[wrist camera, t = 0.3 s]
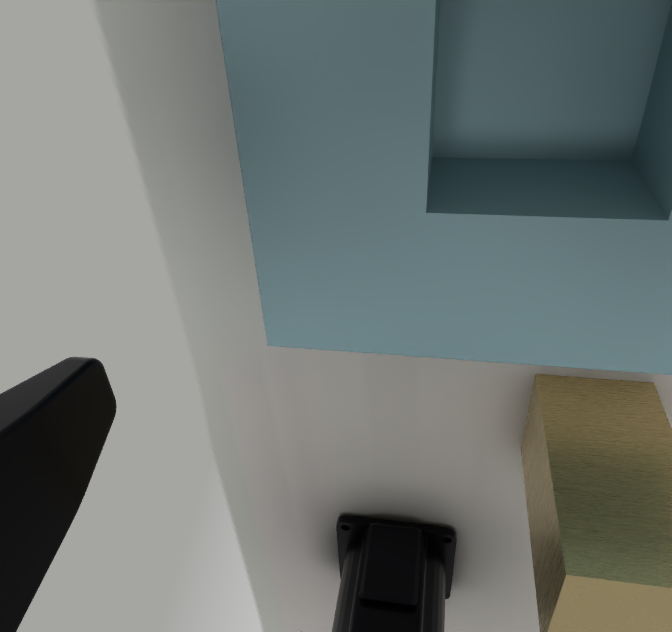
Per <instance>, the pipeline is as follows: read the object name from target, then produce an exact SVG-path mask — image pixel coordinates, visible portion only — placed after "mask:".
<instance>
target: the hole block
mask: <svg viewBox="0 0 672 632" xmlns="http://www.w3.org/2000/svg"><path fill="white" fill-rule="evenodd" d="M216 6H217V12H218V19H219V26H220V32H221V39H222V45H223V52H224V59H225V65H226V72H227V79H228V85H229V92H230V99H231V105H232V112H233V119H234V125H235V132H236V139H237V145H238V152H239V158H240V165H241V172H242V178H243V185H244V192H245V198H246V205H247V212H248V218H249V225H250V232H251V238H252V245H253V252H254V258H255V265H256V271H257V278H258V285H259V291H260V298H261V305H262V311H263V318H264V325H265V331H266V338H267V345H268V346H279V347H293V348H307V349H320V350H334V351H348V352H362V353H376V354H389V355H403V356H417V357H431V358H445V359H459V360H472V361H486V362H500V363H514V364H528V365H542V366H555V367H569V368H583V369H597V370H611V371H624V372H638V373H652V374H666V375H672V0H216Z"/></svg>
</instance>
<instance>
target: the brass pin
mask: <svg viewBox="0 0 672 632" xmlns="http://www.w3.org/2000/svg"><path fill="white" fill-rule="evenodd" d="M521 454H522V463H523V473H524V482H525V492H526V501H527V511H528V520H529V530H530V540H531V549H532V559H533V568H534V578H535V587H536V597H537V606H538V616H539V625H540V632H672V429H671V426H670V424H669V421H668V418H667V416H666V413H665V411H664V408H663V405H662V403H661V400H660V398H659V395H658V392H657V390H656V387H655V385H654V383H649V382H635V381H622V380H608V379H595V378H581V377H568V376H555V375H541V374H536V376H535V381H534V386H533V391H532V396H531V401H530V406H529V411H528V416H527V421H526V426H525V431H524V436H523V441H522V446H521Z"/></svg>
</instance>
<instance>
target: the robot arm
mask: <svg viewBox="0 0 672 632" xmlns="http://www.w3.org/2000/svg"><path fill="white" fill-rule="evenodd" d="M115 413H116V400H115V396H114V394H113V391H112V388H111V385H110V383H109V380H108V377H107V374H106V372H105V369H104V366H103V364H102V363H101V362H100V361H99V360H97V359H95V358H83V357H70V358H67V359H65V360H63V361H61V362H60V363H58V364H56V365H54V366H52V367H50V368H49V369H46V370H44V371H43V372H41V373H39V374H37V375H35V376H33V377H31V378H29V379H28V380H26V381H24V382H22V383H20V384H18V385H16V386H14V387H13V388H11V389H9V390H7V391H5V392H3V393H1V394H0V632H16V631H17V629H18V627H19V625H20V623H21V621H22V619H23V617H24V615H25V613H26V611H27V609H28V607H29V605H30V604H31V601H32V599H33V598H34V596H35V594H36V592H37V589H38V588H39V586H40V584H41V582H42V580H43V578H44V576H45V574H46V572H47V570H48V568H49V566H50V564H51V563H52V561H53V559H54V557H55V555H56V553H57V551H58V549H59V547H60V545H61V543H62V541H63V539H64V537H65V535H66V533H67V531H68V529H69V527H70V525H71V523H72V521H73V519H74V517H75V515H76V513H77V511H78V509H79V506H80V504H81V502H82V499H83V497H84V495H85V492H86V490H87V487H88V484H89V482H90V479H91V477H92V474H93V472H94V469H95V467H96V464H97V461H98V459H99V456H100V454H101V451H102V449H103V446H104V443H105V441H106V438H107V435H108V433H109V431H110V428H111V425H112V423H113V420H114V417H115ZM336 528H337V540H338V552H339V564H340V577H341V582H340V588H339V594H338V600H337V605H336V611H335V617H334V623H333V628H332V632H444V621H445V599H448V598H449V597H450V591H451V583H452V574H453V566H454V558H455V550H456V542H457V534H456V532H455V531H454V530H452V529H449V528H442V527H434V526H425V525H417V524H409V523H400V522H392V521H384V520H375V519H367V518H359V517H350V516H341V517H339V518H338V521H337V526H336Z"/></svg>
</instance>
